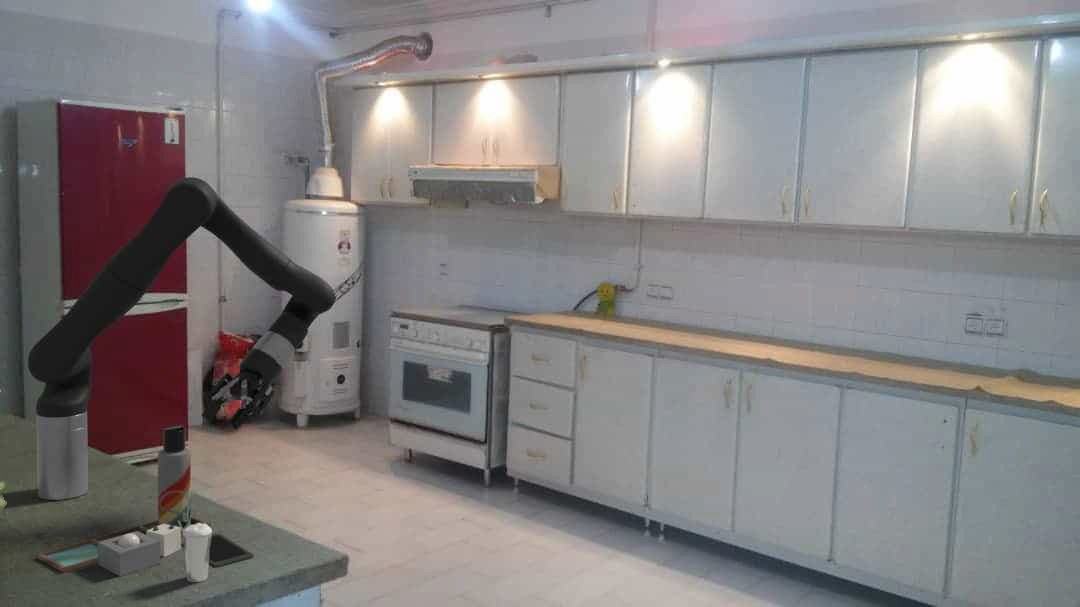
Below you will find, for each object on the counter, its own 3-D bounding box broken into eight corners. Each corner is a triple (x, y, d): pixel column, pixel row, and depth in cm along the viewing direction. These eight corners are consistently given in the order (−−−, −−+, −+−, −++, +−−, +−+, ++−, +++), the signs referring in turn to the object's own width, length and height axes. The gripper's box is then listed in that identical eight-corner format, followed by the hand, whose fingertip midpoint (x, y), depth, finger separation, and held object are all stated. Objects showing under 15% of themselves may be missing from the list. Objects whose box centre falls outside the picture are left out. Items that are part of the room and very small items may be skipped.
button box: (98, 564, 150) (97, 542, 149) (137, 552, 155) (137, 530, 155) (120, 576, 146) (120, 553, 145) (159, 563, 151) (159, 541, 151)
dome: (114, 560, 150) (113, 534, 150) (133, 555, 153) (133, 528, 152) (124, 566, 148) (124, 539, 148) (144, 560, 151) (143, 533, 150)
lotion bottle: (178, 536, 164) (178, 431, 162) (151, 532, 165) (151, 428, 163) (196, 525, 169) (196, 423, 167) (169, 522, 170) (169, 421, 168)
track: (37, 558, 151) (37, 553, 151) (183, 516, 174) (183, 512, 173) (63, 572, 146) (63, 568, 146) (210, 528, 168) (210, 524, 168)
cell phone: (215, 570, 151) (215, 566, 151) (180, 545, 160) (180, 541, 160) (255, 559, 156) (255, 555, 156) (218, 536, 166) (218, 532, 165)
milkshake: (182, 572, 148) (182, 515, 147) (215, 572, 149) (215, 515, 148) (173, 584, 144) (173, 525, 143) (207, 584, 144) (207, 525, 143)
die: (146, 552, 156) (146, 527, 155) (163, 544, 159) (163, 520, 159) (164, 556, 154) (164, 531, 154) (180, 548, 158) (181, 524, 157)
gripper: (235, 342, 182) (185, 405, 174) (279, 352, 174) (229, 418, 166) (256, 365, 187) (208, 427, 179) (300, 375, 179) (252, 440, 171)
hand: (218, 422), depth 173 cm, fingers open, 8 cm apart
